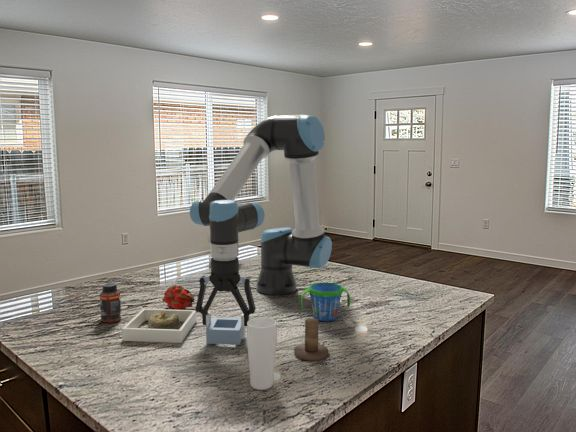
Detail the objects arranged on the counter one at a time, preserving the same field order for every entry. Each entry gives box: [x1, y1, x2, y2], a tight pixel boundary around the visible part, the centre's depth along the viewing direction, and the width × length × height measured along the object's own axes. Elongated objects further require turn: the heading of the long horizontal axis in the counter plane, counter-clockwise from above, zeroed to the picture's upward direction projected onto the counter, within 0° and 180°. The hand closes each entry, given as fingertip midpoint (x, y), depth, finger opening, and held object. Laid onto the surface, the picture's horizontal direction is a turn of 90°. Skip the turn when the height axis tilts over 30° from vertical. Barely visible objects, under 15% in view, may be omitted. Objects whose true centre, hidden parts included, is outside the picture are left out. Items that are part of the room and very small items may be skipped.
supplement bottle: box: [99, 282, 122, 324], centre depth 150 cm, size 6×6×11 cm
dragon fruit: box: [161, 284, 196, 310], centre depth 161 cm, size 8×8×12 cm
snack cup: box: [300, 282, 351, 322], centre depth 154 cm, size 16×10×10 cm
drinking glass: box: [246, 316, 278, 391], centre depth 110 cm, size 7×7×15 cm
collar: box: [205, 316, 243, 345], centre depth 136 cm, size 9×9×4 cm
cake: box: [147, 311, 182, 330], centre depth 145 cm, size 10×10×5 cm
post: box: [293, 317, 329, 362], centre depth 128 cm, size 9×9×9 cm
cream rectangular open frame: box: [121, 308, 197, 344], centre depth 143 cm, size 17×17×4 cm
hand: (226, 336), depth 136 cm, fingers closed on collar, 9 cm apart
